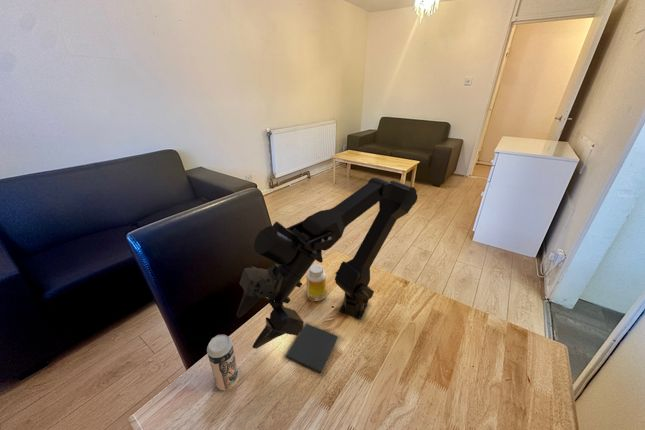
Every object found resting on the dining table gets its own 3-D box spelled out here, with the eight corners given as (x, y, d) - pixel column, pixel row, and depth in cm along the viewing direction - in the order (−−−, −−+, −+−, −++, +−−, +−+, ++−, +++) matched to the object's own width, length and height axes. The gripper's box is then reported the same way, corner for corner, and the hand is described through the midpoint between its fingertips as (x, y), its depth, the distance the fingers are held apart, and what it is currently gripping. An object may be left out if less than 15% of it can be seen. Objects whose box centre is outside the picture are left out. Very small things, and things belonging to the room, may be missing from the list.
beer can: (232, 394, 54) (223, 356, 48) (211, 389, 54) (200, 351, 49) (243, 371, 58) (236, 334, 52) (223, 367, 59) (214, 330, 53)
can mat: (306, 325, 69) (306, 323, 69) (337, 337, 66) (337, 336, 66) (286, 356, 61) (286, 355, 61) (320, 373, 58) (321, 371, 58)
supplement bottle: (328, 298, 78) (329, 271, 73) (311, 304, 76) (311, 276, 71) (320, 286, 83) (320, 260, 78) (304, 291, 80) (303, 265, 76)
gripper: (245, 234, 56) (200, 294, 55) (287, 284, 42) (228, 364, 41) (280, 253, 63) (241, 305, 63) (325, 300, 50) (276, 368, 49)
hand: (245, 331), depth 54 cm, fingers open, 9 cm apart
